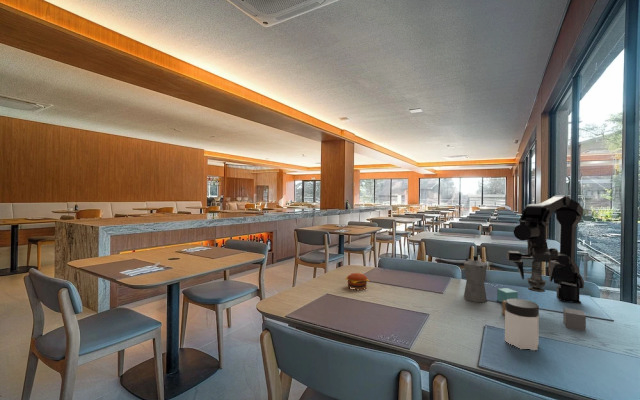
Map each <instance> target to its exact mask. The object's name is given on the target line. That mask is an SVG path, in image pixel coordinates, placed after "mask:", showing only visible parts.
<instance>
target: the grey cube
mask: <svg viewBox="0 0 640 400" xmlns="http://www.w3.org/2000/svg"><path fill="white" fill-rule="evenodd" d="M562 314H563V315H562V316H563V317H562V318H563V320H562V321H563V322H562V323H563V325H564V326H565V328H567V329H571V330H578V331H582V332H586V331H587V328H586V327H587V324H586V322H587V315H586V314H585V312H584V311H583V310H580V309H574V308H566V307H563V313H562Z"/></svg>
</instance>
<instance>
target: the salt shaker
mask: <svg viewBox="0 0 640 400" xmlns="http://www.w3.org/2000/svg"><path fill="white" fill-rule="evenodd" d="M530 271H531V275H530V276H531V277H528V278H526V280H527V282H528V285H529V287H527V289H528V291H531V292H536V293H545V292H546V290H545V289H544V287H545V286H546V284H547V281H546V280H545V279H543V275H542V273H543V269H542V262H536V261H534V260H532V261H531V268H530Z"/></svg>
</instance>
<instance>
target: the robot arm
mask: <svg viewBox="0 0 640 400" xmlns="http://www.w3.org/2000/svg"><path fill="white" fill-rule="evenodd" d="M553 212H554V214H555V219H556V221H557V222H558V224H559V225H560V238H559V239H560V240H559V241H560V242H559V250H558V248H555V247H550V248H548V242H547V231H548V230H547V229H548V226H549V223H548V222H549V219H550V218H551V217H552V214H553ZM583 214H584V208H583V206H582V205H581V204H580V203H579V202H577V201H576V200H573V199H571V198H570V197H569V195H554V196H553V195H552V197H551V198H548V199H547V200H544V201H542V202H539V203H531V204H530V203H529V204H527V205H525V207H524V208H523V211H522V214H521V216H520V219H519V220H518V221H519V224H518V225H516V226H515V227H514V229H513V235H514V237H515V238H516V239H517V240H519V241H526V243H527V250H526V253H521V252H519V251H518V250H507V251H506V253H505V256H506V259H507V260H508V261H511V262H512V263H514V264H515V266H516V267H517V269H518V273H519V275H520V277H521V279H522V280H524V279H525V272H524V262H523V261H522V260H523V259H524V260H533V261H536V262H541V263H542V262H543V263H548V264H549V269H548V271H549V274H548V281H549V282H550V283H551V282H553V283H554V284H557V286H556V298H557V299H559V300H560V301H561V302H565V303H566V302H567V303H573V304H574V303H576V304H582V301H581V300H580V290H581V289H584V286H585V281H584V278H583V277H582V274H581V273H580V267H579V266H578V265H577V263H576V262H575V257H576V256H575V255H576V254H575V253H576V228H577V225H578V224H579V223H580V222H581V221H582V216H583Z"/></svg>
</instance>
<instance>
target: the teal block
mask: <svg viewBox="0 0 640 400" xmlns="http://www.w3.org/2000/svg"><path fill="white" fill-rule="evenodd" d="M496 291H497V294H496V296H497V297H496V301H497V300H498V302H499V303H501V304H502V300H507V299H519V298H518V297H519V295H518V294H519V293H518V291H516V290H514V289H511V288H510V287H505V288H497V289H496Z"/></svg>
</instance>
